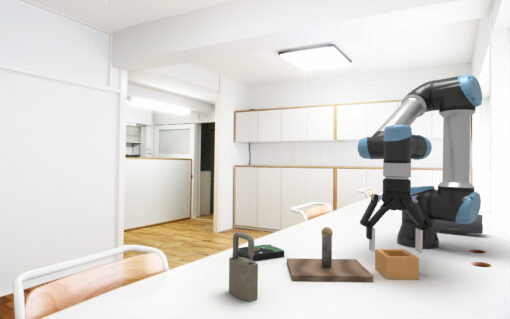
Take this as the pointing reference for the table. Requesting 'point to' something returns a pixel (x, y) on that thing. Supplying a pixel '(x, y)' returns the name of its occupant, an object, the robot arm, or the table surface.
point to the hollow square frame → (396, 264)
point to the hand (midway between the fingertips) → (395, 251)
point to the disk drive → (262, 252)
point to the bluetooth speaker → (460, 227)
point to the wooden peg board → (328, 266)
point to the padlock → (243, 270)
